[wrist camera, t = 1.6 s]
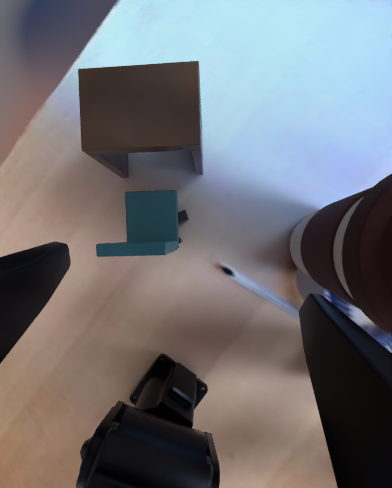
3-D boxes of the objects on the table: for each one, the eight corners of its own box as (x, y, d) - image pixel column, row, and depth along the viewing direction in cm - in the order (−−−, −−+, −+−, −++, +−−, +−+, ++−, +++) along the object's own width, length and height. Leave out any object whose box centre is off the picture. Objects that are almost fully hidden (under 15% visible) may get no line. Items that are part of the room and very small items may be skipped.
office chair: (189, 246, 25) (175, 254, 14) (139, 248, 25) (87, 257, 14) (188, 197, 25) (172, 166, 14) (137, 199, 25) (83, 169, 14)
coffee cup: (258, 230, 24) (338, 219, 9) (339, 180, 24) (563, 86, 9) (305, 308, 24) (462, 422, 9) (388, 260, 24) (694, 301, 9)
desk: (203, 174, 25) (201, 144, 17) (121, 177, 25) (81, 150, 17) (201, 118, 24) (198, 60, 16) (119, 122, 25) (77, 68, 17)
